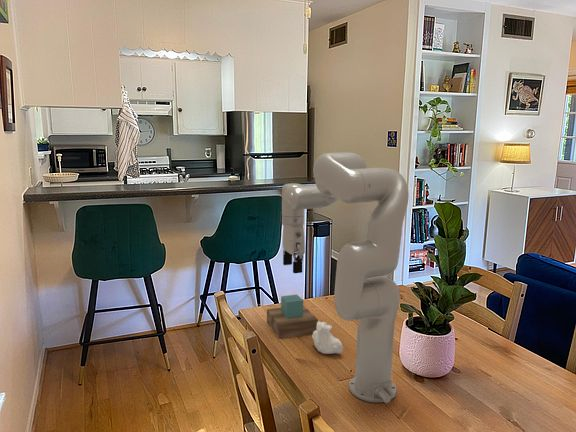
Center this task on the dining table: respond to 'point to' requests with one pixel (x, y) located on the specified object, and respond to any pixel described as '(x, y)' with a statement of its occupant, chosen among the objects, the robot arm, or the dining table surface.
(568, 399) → the dining table surface
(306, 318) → the walnut block
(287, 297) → the teal cube
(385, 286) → the robot arm
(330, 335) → the bust
